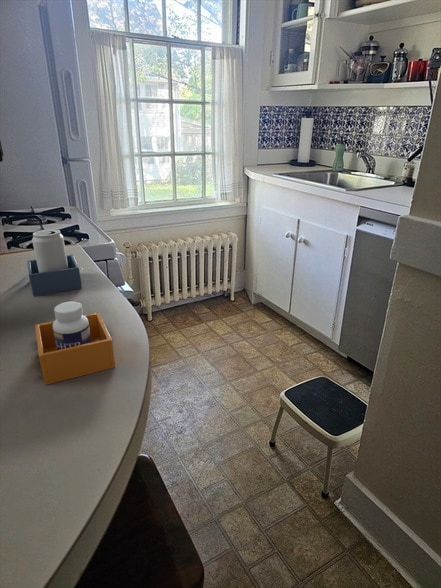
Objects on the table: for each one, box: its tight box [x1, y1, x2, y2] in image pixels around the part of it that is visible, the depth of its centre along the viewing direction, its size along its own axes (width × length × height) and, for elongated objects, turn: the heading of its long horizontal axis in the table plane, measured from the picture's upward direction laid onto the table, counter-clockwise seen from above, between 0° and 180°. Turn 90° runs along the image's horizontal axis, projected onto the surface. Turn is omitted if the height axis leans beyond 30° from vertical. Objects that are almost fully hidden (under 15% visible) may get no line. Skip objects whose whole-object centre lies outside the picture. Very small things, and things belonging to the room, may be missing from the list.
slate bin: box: [26, 254, 83, 297], centre depth 90 cm, size 10×10×5 cm
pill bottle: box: [53, 301, 91, 350], centre depth 61 cm, size 5×5×9 cm
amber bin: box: [34, 312, 116, 386], centre depth 62 cm, size 10×10×5 cm
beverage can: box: [31, 228, 69, 273], centre depth 89 cm, size 6×6×12 cm
